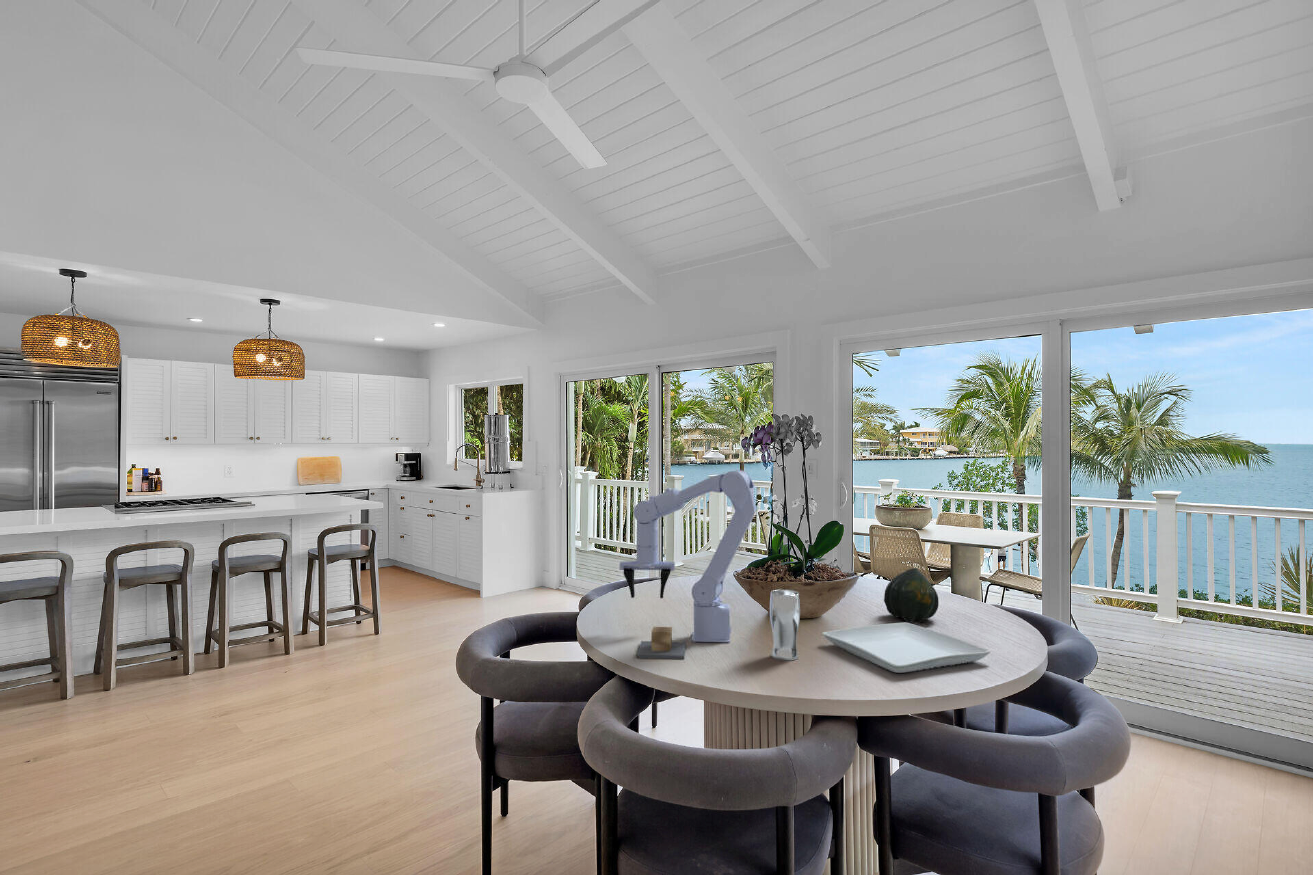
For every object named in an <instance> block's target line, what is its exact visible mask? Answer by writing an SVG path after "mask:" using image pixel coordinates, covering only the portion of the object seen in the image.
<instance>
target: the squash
mask: <svg viewBox="0 0 1313 875" xmlns="http://www.w3.org/2000/svg"><path fill="white" fill-rule="evenodd" d="M883 601H884V603H885V604H884V605H885V607H886V610H887V612H888V613H889V614H890V615H892V616H894V617H896V618H903V619H904V620H905V622H907V621H908V622H907V623H913V622H914V621H915V622H918V621H921V622H923V621H926V620H927V619H930V618H932V617H934V616H935V614H936V613H937V611H938V609H939V595H938V592H937V590H936V589H935V587H934V586H933V585H932V584H931V583H930V581H929V580H928V579H927V578H926V577H925V575H924V574H923V573H922V572H921V570H919V569H918V568H917V567H914V568H910V569H907V570H905V571H903V572H901V573H900V574H897V575H896V576H895V577H893V578H892V579H891V580H890V581H889V582H888V584H887V585H886V587H885V590H884V597H883ZM912 621H913V622H912Z"/></svg>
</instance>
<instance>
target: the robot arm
mask: <svg viewBox="0 0 1313 875" xmlns="http://www.w3.org/2000/svg"><path fill="white" fill-rule="evenodd" d="M711 492H714V493H718V494H719V493H724V494H725V495H726V497H727V498H728V499H729V500H730V503H731V504H732V507H733V509H734V513H733V515H732V517H731V519H730V521H729V523H728V525H727V528H726V529H725V531H724V534H723V536H722V538H721V540H720V542H719V544H718V545H717V548H716V550H715V552H714V553H713V557H712V558H711V560H710V562H709V564H708V565H707V567H706V569H705V571H704V572H703V574H702V576H701V578H700V579H699V580H697V581H696V582H695V583H694V584H693V586H692V588H691V596H692V599H693V631H692V633H691V642H693V643H695V642H696V643H697V642H698V643H699V642H701V643H730V634H731V633H732V631H731V629H732V628H731V624H730V621H731V620H730V616H731V615H730V614H731V613H730V604H729V603H722V601H723V600H722V599H721V597H720V596H721V594H722V593H723V591H724V580H725V578H726V575H727V571H728V569H729V568H730V565H731V564H732V561H733V559H734V557H735V555H736V553H737V551H738V549H739V547H740V545H741V543H742V541H743V539H744V537H745V535H746V533H747V531H748V529H749V527H750V526H751V523H752V521H753V518H755V517H754V516H755V514H756V512H757V506H756V505H757V504H756V499H755V498H756V496H755V484H754V483H753V480H752V478H751V476H750V475H749V474H748V473H747V472H746V471H744V470H741V469H737V470H732V471H727V472H726V473H725V472H724V473H721V474H717V475H712V476H710V477H708V478H706V479H704V480H701V481H699V482H696V483H695V484H693V485H691V486H688V487H686V488H684V489H682V490H679V489H677V488H671V487H668V488H665V489H664V492H662V493H659V494H657V495H655V496H654V495H651V496H649V497H648V498H649V499H647V500H640V502H638V503H637V504H636V505H635V506H634V508H633V516H634V518H635V520H636V560H634V561H633V560H632V561H629V560H628V561H627V560H626V561H620V562H619V570H620V571H623V573H622V574H623V577H624V579H625V580H626V582H627V585H628V588H629V592H630V598H631V599H633V598H635V596H636V595H635V594H636V591H635V570H637V571H638V570H640V571H660V590H659V592H660V593H659V597H660V598H659V599H664V592H665V587H666V585H667V583H668V579H669V577H670V575H671V571H672V572H673V571H675V570H676V569H675V568H676V566H675V564H676V563H675V562H674V561H660V560H659V525H658V524H659V522H658V521H659V520H658V519H659V518H663V517H665V516H668V515H670V514H673V513H675V512H678V511H680V510H682V509H683V508H684V507H685V504H686V502H687V501H690V500H693V499H696V498H698V497H702V496H703V495H705V494H708V493H711Z"/></svg>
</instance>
